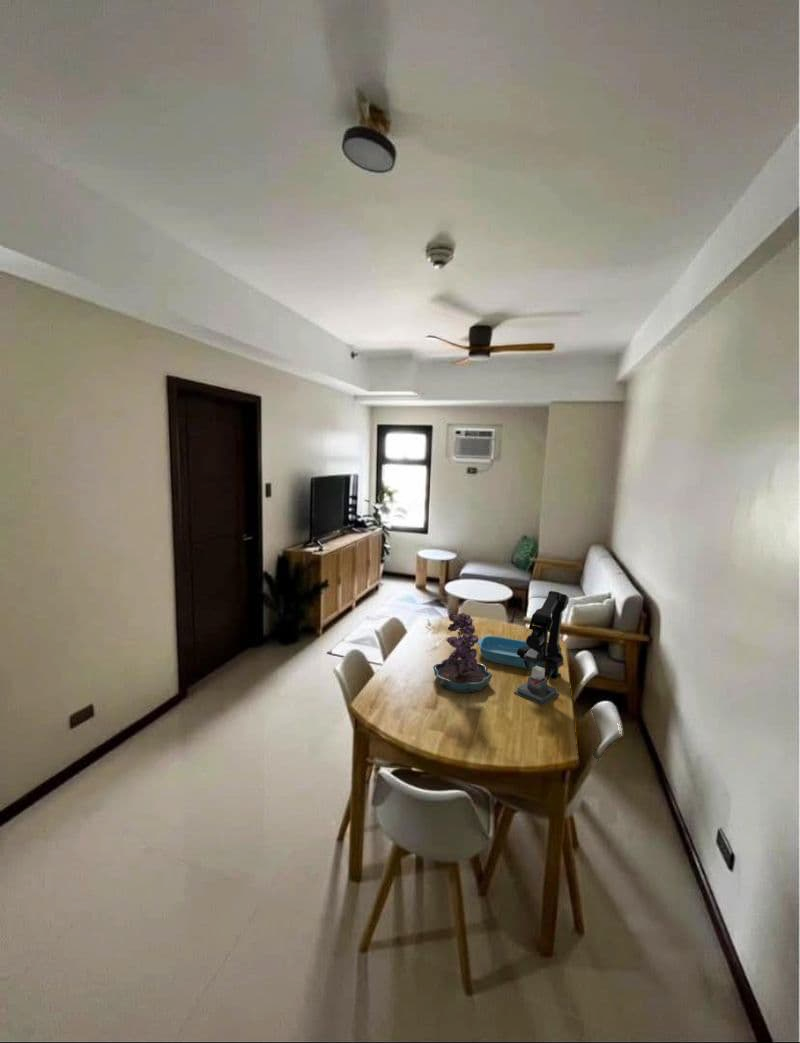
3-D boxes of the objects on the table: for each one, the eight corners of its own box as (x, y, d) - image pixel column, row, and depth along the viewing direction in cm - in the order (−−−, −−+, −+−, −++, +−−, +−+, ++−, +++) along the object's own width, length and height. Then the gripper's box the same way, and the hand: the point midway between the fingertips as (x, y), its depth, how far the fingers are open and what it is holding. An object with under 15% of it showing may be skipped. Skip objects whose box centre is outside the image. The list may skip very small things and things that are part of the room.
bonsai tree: (438, 664, 215) (441, 600, 212) (494, 672, 208) (497, 607, 204) (421, 699, 182) (424, 624, 178) (487, 710, 174) (491, 633, 171)
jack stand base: (530, 682, 199) (531, 668, 198) (559, 694, 189) (560, 679, 188) (513, 692, 189) (514, 677, 188) (543, 705, 179) (545, 690, 178)
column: (534, 688, 192) (536, 665, 191) (543, 692, 189) (545, 668, 188) (529, 692, 189) (531, 668, 188) (538, 695, 186) (540, 671, 185)
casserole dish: (550, 657, 227) (551, 644, 227) (549, 675, 207) (550, 661, 206) (480, 645, 240) (481, 633, 240) (472, 661, 220) (473, 648, 219)
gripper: (511, 639, 187) (509, 673, 189) (551, 653, 174) (549, 690, 176) (524, 633, 195) (522, 666, 197) (564, 646, 182) (561, 681, 184)
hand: (537, 675), depth 188 cm, fingers open, 9 cm apart
